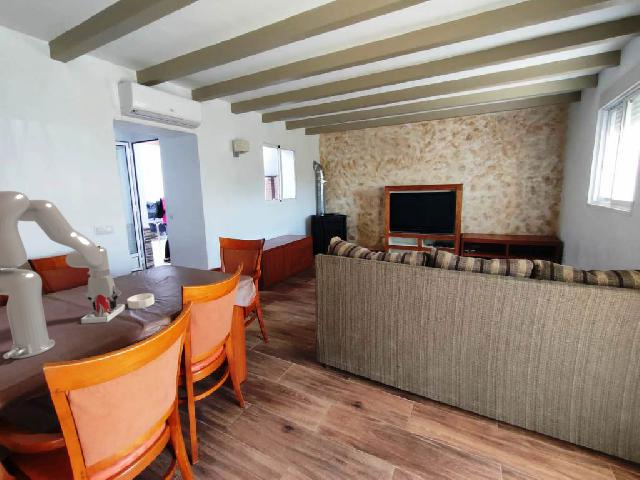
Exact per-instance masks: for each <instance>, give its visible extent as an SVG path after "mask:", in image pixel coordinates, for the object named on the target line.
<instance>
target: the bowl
mask: <svg viewBox="0 0 640 480" xmlns="http://www.w3.org/2000/svg"><path fill="white" fill-rule="evenodd" d="M126 300H127V301H126V302H127V306H128V307H127V308H128V309H133V310H136V309H143V308H146V307H150V306H152V305H153V304H154V303H155V295H154V293H149V292H148V293H140V294H136V295H132V296H129V297H128V298H127V299H126Z"/></svg>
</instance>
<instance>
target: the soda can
mask: <svg viewBox="0 0 640 480" xmlns="http://www.w3.org/2000/svg"><path fill="white" fill-rule="evenodd" d="M98 294H100V293H98ZM110 302H111V300H110V298H109V297H104V296H103V295H97V296H96V297H95V306H96V312H97V315H98V316H100V317H101V316H102V314H103V313H105V312H107V313H109V314H111V313H112V312H114V309H111V305H110Z"/></svg>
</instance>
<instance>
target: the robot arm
mask: <svg viewBox="0 0 640 480" xmlns="http://www.w3.org/2000/svg"><path fill="white" fill-rule="evenodd" d="M19 222H34V223H36V225H37V226H38V227H39V228H40V229H41V230H42V231H43V233H44V234H45V235H46V236H47V237H48V239H50V240H51V241H53V242H54V243H57V244H59V245H62V246H66V247H68V248H70V249H72V250H73V251H71V252H69V253H68V254H67V255H66V257H65V263H66V265H67V266H69V267H71V268H78V269H79V268H81V269H83V268H85V269H86V268H87V269H88V270H89V271H87V275H89V276H90V277H88V281H87V289H88V290H87V291H86V292H85V293H84V296H85V298H86V299H87V300H89V301H90V303H91V304H92V307H93V311H94V310H96V306H95V297H96V296H97V295H103V296H104V297H109V298H110V300H111V302H110V305H111V309H114V308H116V305H117V299H118V298H119V297H120V295H121V294H122V291H121V290H119V289H118V288H117V287H116V284H115V281H114V277H113V276H112V274H111V271H110V265H109V258H108V251H107V248H105V247H100V246H99V247H98V246H97V245H96V244H95V242H93V241H92V240H91V239H89V238H88V237H87V236H85V235H84V234H82V233H81V232H79V231H78V230H75V229H74V228H73V226H72V225H71V224H70V223H69V222H68V220H67V219H66V218H65V216H64V215H63V214H62V212H61V211H60V209H59V208H58V207H57V206H56V205H55V204H54V203H53V202H51V201H49V200H45V199H29V197H28V196H27V195H26V194H25V193H22V192H20V191H16V190H13V191H12V190H5V191H4V190H3V191H2V190H1V191H0V295H1V296H2V295H3V296H8V300H7V303H6V313H7V319H8V323H9V327H10V332H11V338H12V343H13V344H12V345H11V349H10V350H9V351H8V352H6V353H4V354H3V355H2V358H3V359H5V360H7V359H9V358H11V359H25V358H30V357H33V356H36V355H40V354H43V353H45V352H47V351H48V350H51V349H52V348H54V346H55V345H56V341H55V340H54V339H52V338H49V333H48V328H47V327H48V326H47V321H46V317H45V311H44V306H43V300H42V299H43V298H42V289H43V288H42V287H43V281H42V277H41V275H39V274H38V273H37V272H36V271H34V270H30V269H26V268H25V269H24V268H20V269H19V268H18V267H21V266H23V265H24V264H25V263H26V262H27V260H28V255H27V250H26V248H25V245H24V242H23V240H22V238H21V235H20V231H19V227H18V225H19V224H18V223H19ZM17 268H18V269H17ZM98 293H100V294H98Z"/></svg>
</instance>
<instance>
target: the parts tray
mask: <svg viewBox="0 0 640 480" xmlns="http://www.w3.org/2000/svg"><path fill="white" fill-rule="evenodd" d="M124 310H126V304H125V303H124V304H116V308H114V312H112V313H111V314H110V315H108V316H107V317H100V316H98V315H97V312H96V310H94V309H93V311H91V312H89V313H88V314H86V315H84V316H83V317H81V318H80V323H81V325H82V324H85V325H86V324H95V323H96V324H98V323H99V324H100V323H109V322H110V321H111V320H112V319H114V318H115V317H116V316H118V315H119V314H120V313H122V312H123V311H124ZM90 314H94V315H95V318H87V316H88V315H90Z"/></svg>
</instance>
